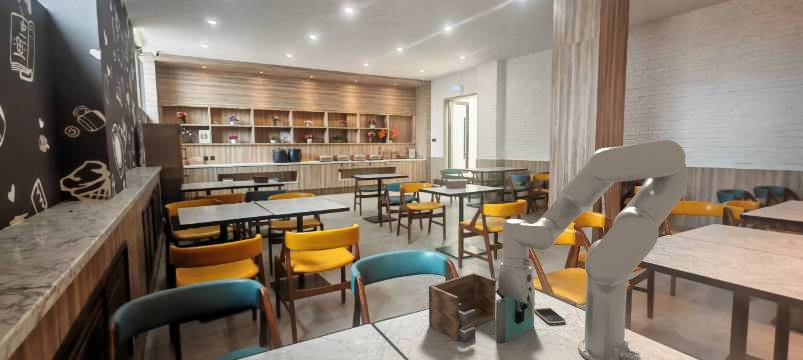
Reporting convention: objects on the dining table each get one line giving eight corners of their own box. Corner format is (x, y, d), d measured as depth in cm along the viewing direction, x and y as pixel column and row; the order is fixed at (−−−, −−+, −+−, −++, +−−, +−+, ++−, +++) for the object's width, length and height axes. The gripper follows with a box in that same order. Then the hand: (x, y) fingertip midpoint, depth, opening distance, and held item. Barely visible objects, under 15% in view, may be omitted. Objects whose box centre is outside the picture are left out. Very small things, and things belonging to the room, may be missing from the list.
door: (536, 328, 121) (537, 290, 119) (503, 344, 111) (503, 304, 110) (527, 324, 123) (527, 287, 122) (493, 340, 113) (494, 300, 112)
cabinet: (507, 323, 124) (507, 284, 123) (461, 343, 112) (461, 300, 110) (473, 308, 135) (474, 272, 134) (429, 325, 123) (428, 286, 122)
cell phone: (548, 326, 122) (549, 322, 122) (532, 311, 133) (532, 307, 133) (567, 325, 123) (567, 321, 123) (549, 310, 134) (549, 306, 134)
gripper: (547, 265, 111) (546, 326, 112) (501, 252, 124) (500, 308, 125) (532, 270, 106) (530, 334, 108) (485, 257, 119) (485, 314, 121)
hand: (514, 319), depth 117 cm, fingers open, 3 cm apart
